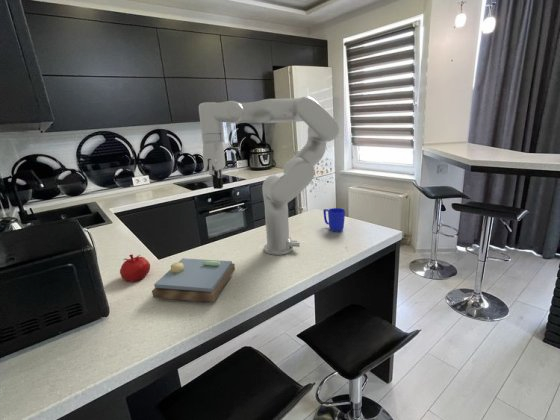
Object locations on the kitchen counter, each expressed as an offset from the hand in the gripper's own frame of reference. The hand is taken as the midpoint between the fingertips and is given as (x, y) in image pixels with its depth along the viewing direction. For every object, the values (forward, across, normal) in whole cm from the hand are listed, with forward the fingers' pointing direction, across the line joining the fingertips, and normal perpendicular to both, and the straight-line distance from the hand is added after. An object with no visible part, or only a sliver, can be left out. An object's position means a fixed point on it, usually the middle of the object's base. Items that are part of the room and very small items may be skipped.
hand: (218, 188), depth 111 cm
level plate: (+25, +22, -2) cm, 33 cm away
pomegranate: (+29, +18, -28) cm, 44 cm away
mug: (+29, -36, +43) cm, 63 cm away
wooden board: (+29, +22, -2) cm, 37 cm away
